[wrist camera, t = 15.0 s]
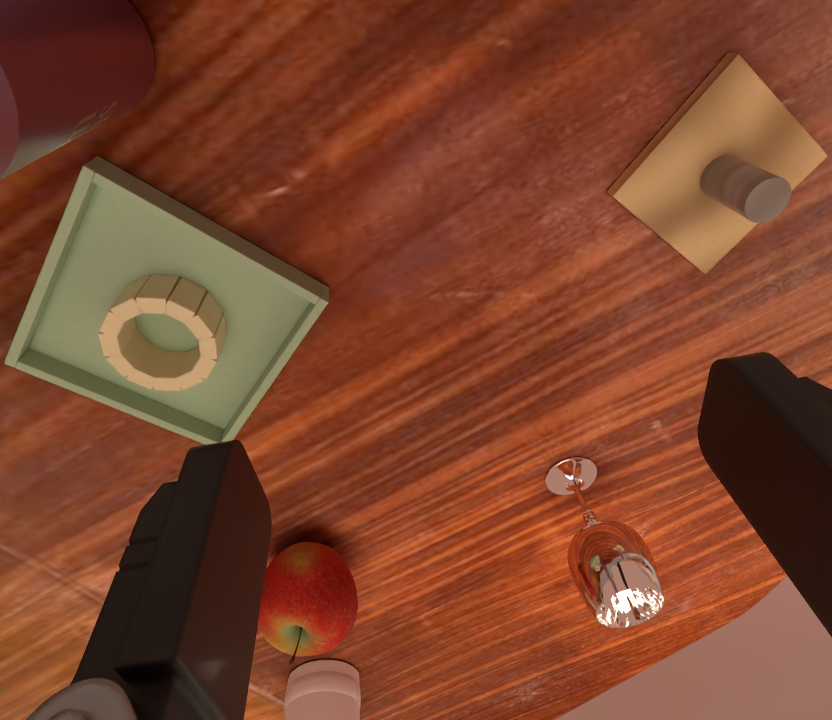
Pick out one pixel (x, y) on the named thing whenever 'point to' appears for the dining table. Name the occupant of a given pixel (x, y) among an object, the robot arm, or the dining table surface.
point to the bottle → (323, 692)
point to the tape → (149, 360)
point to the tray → (160, 255)
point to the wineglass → (607, 556)
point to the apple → (307, 600)
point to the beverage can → (66, 72)
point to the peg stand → (718, 165)
